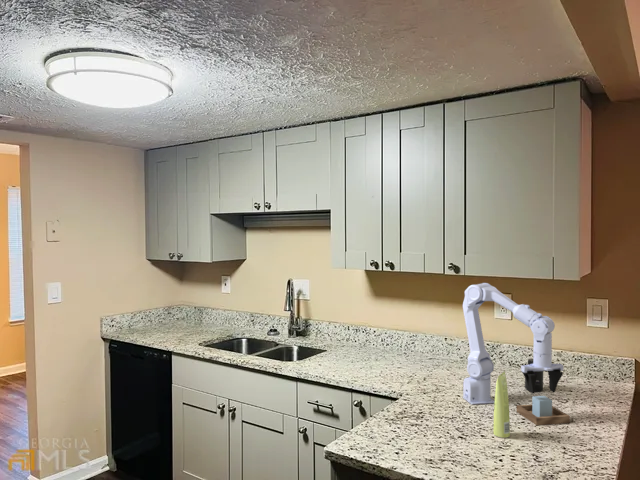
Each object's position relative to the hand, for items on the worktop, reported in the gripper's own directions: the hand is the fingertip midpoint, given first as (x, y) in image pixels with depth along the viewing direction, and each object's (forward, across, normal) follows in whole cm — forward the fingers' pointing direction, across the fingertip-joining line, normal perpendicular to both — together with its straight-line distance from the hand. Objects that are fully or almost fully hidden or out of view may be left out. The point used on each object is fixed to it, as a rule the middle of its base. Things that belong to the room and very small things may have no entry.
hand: (542, 391), depth 167 cm
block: (+8, 0, 0) cm, 8 cm away
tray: (+9, 0, 0) cm, 9 cm away
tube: (+9, -21, -11) cm, 25 cm away
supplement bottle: (+9, +14, +27) cm, 32 cm away
